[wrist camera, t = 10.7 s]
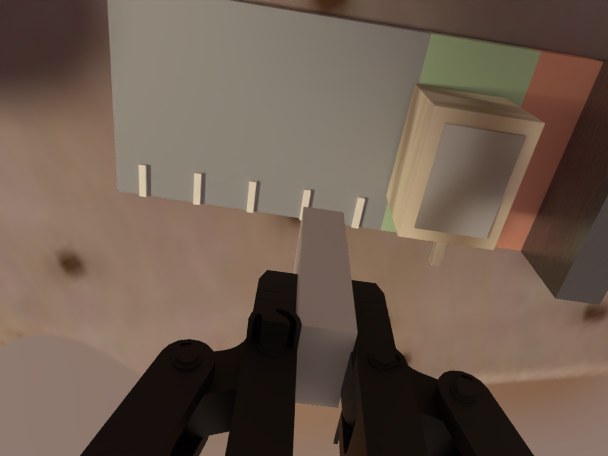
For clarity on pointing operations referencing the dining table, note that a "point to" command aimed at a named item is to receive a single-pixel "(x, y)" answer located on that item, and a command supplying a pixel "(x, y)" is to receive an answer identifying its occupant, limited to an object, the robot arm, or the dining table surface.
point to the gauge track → (308, 105)
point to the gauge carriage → (459, 167)
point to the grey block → (577, 209)
